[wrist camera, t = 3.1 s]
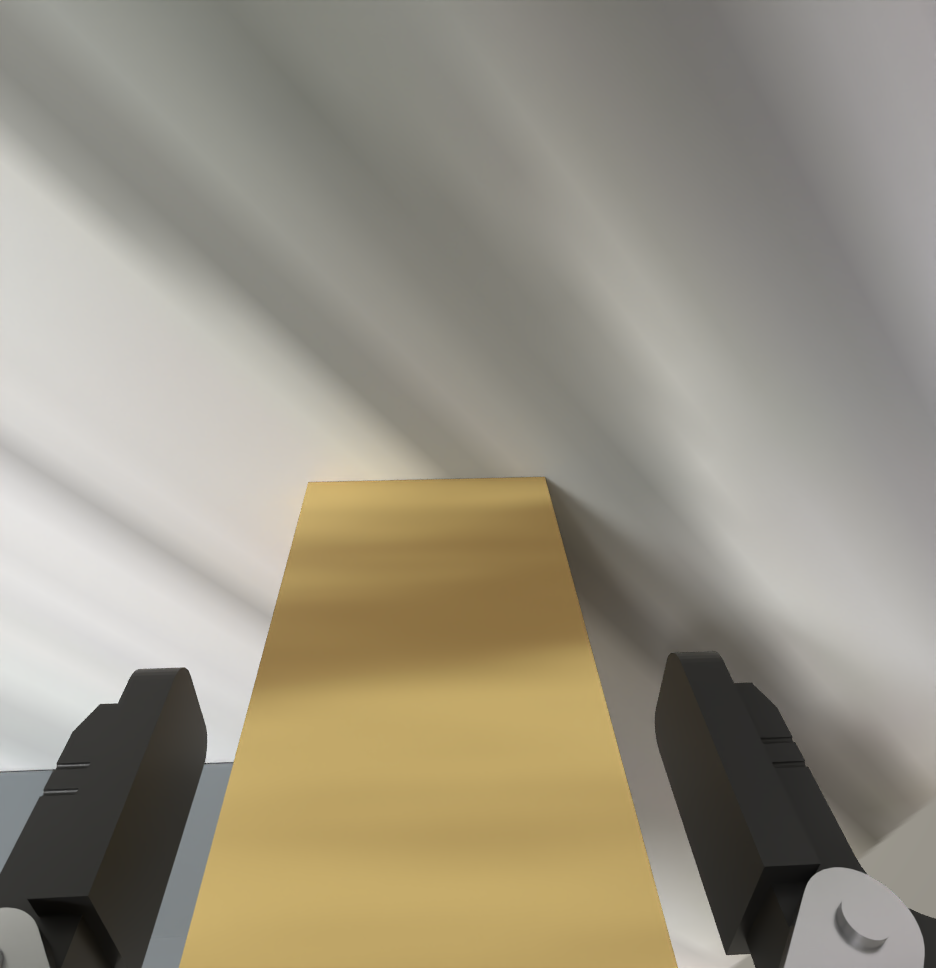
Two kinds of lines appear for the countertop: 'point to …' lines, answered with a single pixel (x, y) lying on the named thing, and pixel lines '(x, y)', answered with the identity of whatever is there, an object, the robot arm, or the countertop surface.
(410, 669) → the peg
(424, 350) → the countertop surface
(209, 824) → the hole block
